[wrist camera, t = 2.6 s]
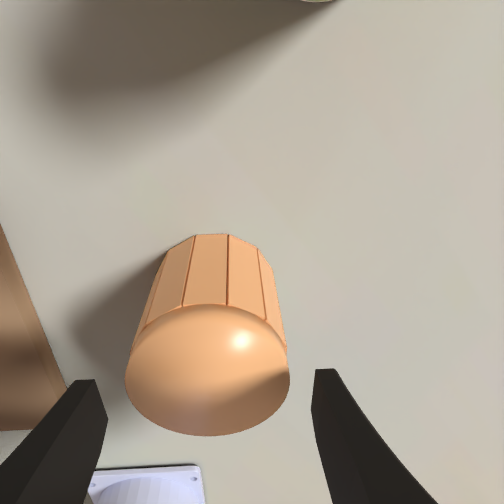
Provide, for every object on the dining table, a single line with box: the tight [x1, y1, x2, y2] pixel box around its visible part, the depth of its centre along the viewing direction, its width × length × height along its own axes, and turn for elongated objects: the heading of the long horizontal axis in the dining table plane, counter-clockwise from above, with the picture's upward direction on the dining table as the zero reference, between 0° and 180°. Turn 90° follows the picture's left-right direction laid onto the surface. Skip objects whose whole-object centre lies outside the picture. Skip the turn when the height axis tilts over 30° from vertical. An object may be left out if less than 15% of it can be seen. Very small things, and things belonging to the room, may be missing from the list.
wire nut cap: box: [125, 234, 290, 436], centre depth 15 cm, size 6×6×6 cm
